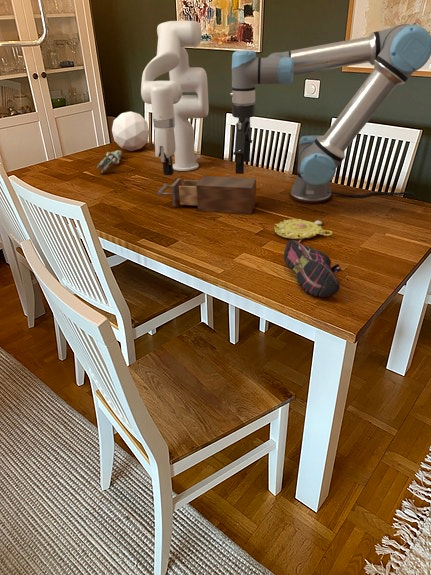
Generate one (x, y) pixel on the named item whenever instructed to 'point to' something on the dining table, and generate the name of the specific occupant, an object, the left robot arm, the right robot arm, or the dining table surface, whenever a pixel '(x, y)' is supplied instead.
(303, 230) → the decorative object
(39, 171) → the dining table surface
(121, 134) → the sphere
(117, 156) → the figurine
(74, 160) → the dining table surface
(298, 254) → the athletic shoe
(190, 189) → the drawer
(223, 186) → the dark brown low box
